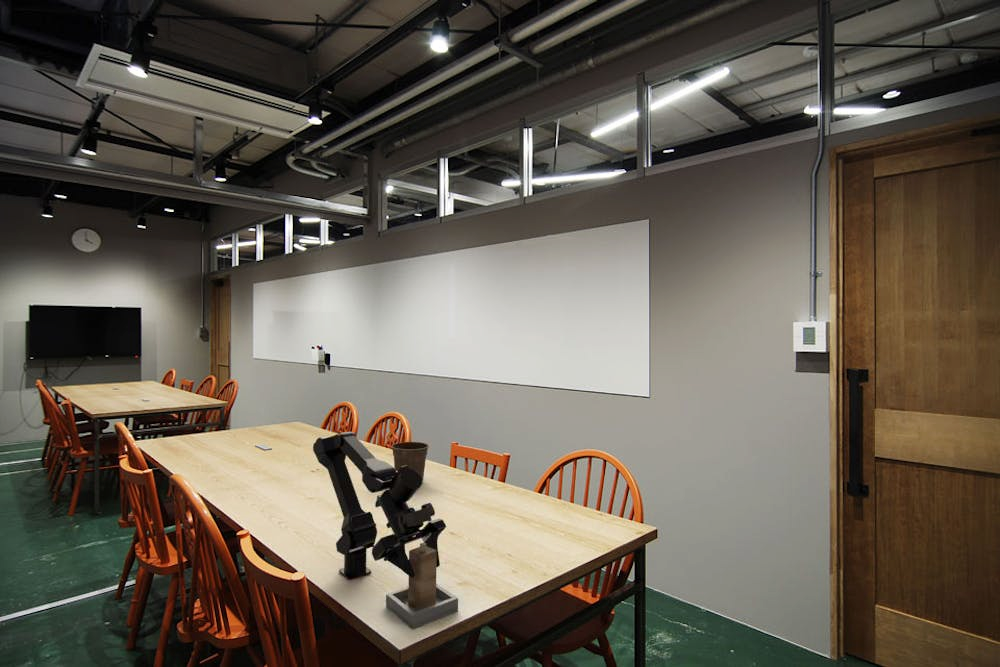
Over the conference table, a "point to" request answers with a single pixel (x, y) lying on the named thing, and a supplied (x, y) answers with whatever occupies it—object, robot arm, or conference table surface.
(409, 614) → the tray
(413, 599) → the block
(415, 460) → the plant pot
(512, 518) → the conference table surface
